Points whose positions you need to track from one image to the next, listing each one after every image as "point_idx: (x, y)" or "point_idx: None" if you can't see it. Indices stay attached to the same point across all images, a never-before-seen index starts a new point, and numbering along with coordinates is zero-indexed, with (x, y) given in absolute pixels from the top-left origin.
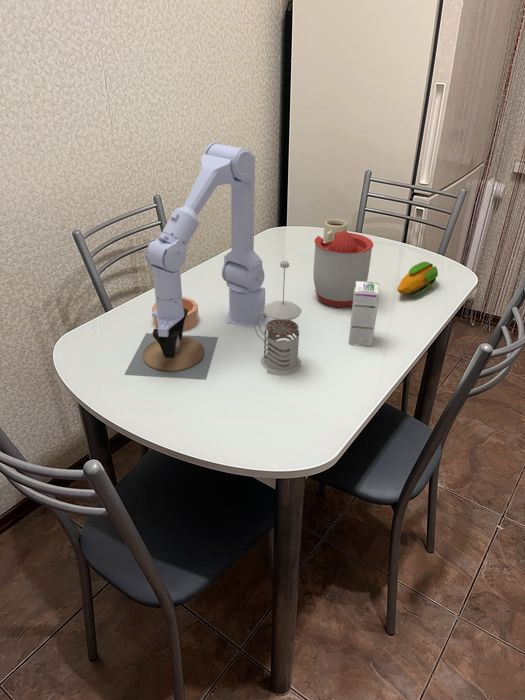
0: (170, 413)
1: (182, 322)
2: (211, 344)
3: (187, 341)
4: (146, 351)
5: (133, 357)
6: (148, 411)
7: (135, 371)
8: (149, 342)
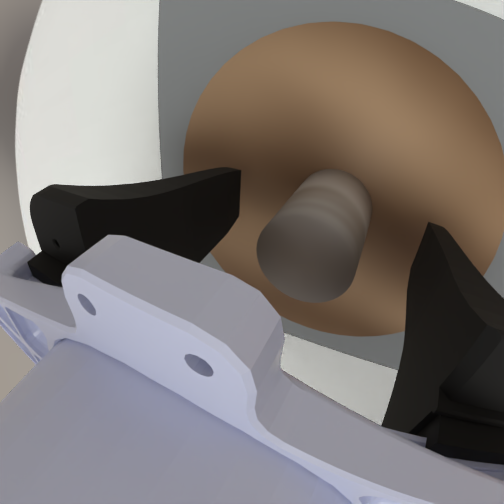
0: (59, 184)
1: (396, 384)
2: (396, 356)
3: None
4: (347, 40)
5: None
6: (51, 131)
7: (183, 21)
8: (491, 64)
